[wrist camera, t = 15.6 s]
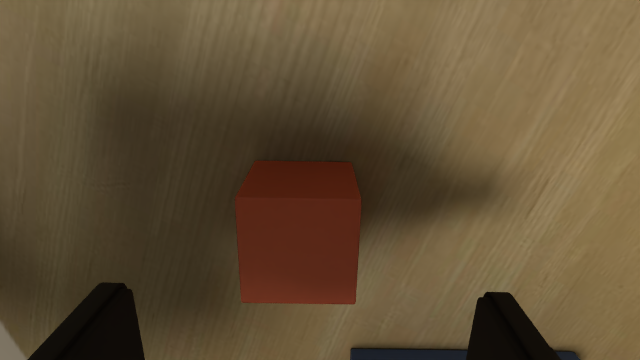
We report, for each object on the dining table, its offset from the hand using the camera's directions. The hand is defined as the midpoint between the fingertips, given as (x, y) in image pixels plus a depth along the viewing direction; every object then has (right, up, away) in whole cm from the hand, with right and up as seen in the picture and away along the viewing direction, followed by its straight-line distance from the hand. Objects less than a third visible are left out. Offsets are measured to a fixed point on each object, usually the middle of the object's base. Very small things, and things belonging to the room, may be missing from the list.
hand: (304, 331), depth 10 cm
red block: (0, +3, +8) cm, 9 cm away
